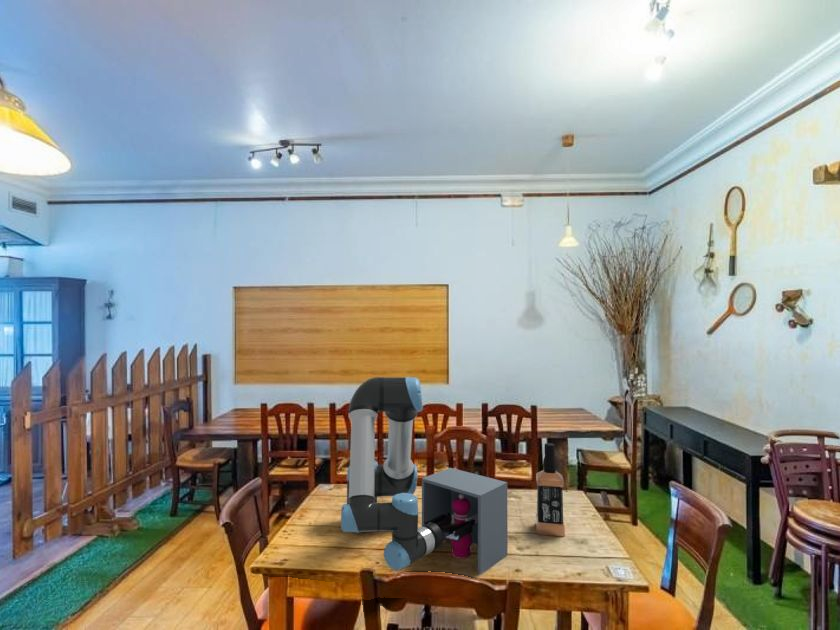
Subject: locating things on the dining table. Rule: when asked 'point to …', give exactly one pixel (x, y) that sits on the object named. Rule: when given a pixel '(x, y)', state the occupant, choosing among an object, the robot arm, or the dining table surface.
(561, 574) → the dining table surface
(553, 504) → the whiskey bottle
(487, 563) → the cubby
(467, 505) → the pepper mill
